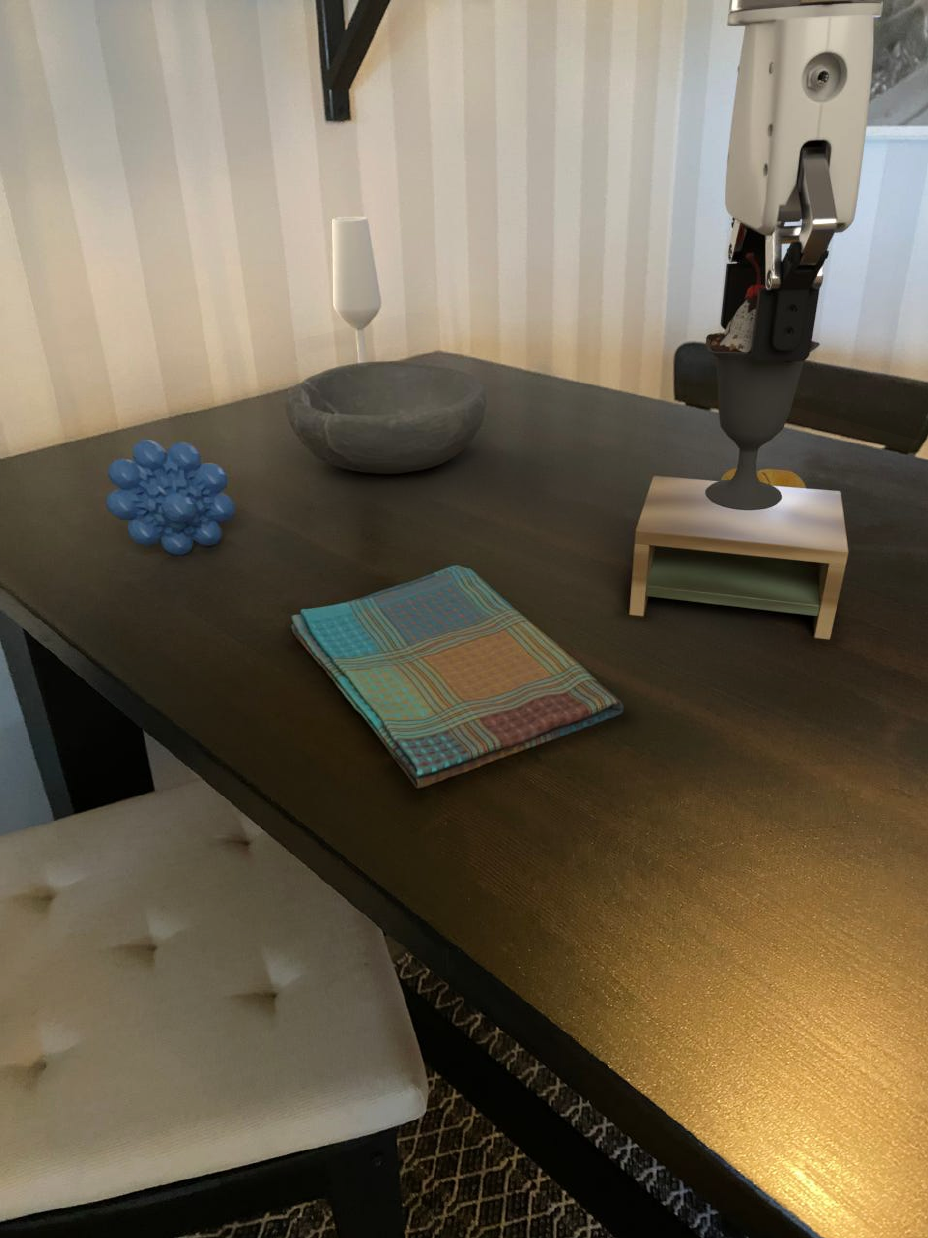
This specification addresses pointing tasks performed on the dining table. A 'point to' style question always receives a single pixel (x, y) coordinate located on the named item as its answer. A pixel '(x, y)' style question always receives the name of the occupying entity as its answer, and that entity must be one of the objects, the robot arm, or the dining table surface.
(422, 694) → the dish towel
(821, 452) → the dining table surface
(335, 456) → the bowl
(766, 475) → the bread roll
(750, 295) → the sundae
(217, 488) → the blue flower ornament
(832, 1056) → the dining table surface
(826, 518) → the shelf
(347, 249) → the champagne flute
